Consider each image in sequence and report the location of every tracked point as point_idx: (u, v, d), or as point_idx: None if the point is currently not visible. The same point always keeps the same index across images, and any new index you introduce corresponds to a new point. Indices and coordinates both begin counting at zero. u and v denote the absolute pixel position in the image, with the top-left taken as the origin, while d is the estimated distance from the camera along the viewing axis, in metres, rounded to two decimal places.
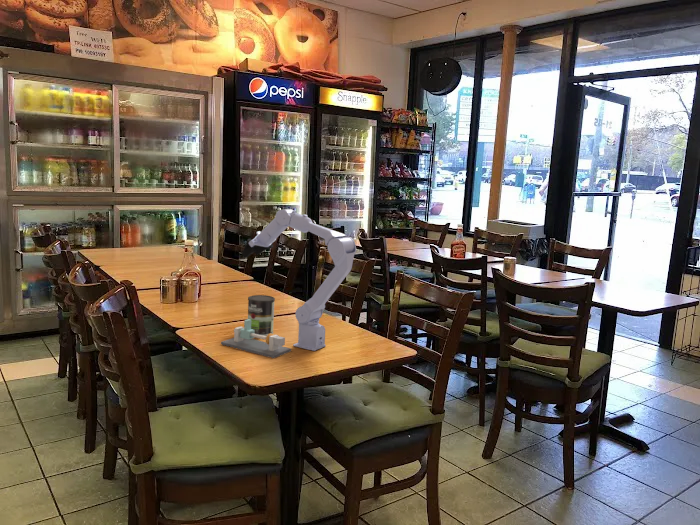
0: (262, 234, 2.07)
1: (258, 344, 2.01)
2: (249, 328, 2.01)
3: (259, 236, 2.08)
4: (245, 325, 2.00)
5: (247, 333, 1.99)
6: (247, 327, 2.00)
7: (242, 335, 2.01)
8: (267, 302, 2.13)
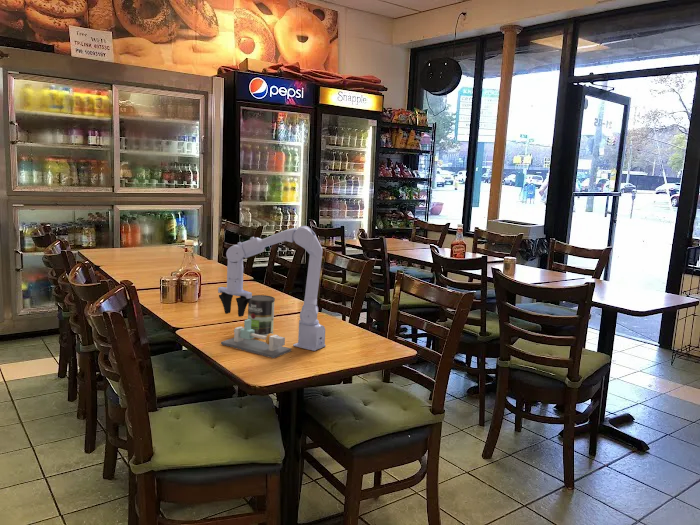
0: (238, 285, 2.00)
1: (258, 344, 2.01)
2: (249, 328, 2.01)
3: (237, 289, 2.00)
4: (245, 325, 2.00)
5: (247, 333, 1.99)
6: (247, 327, 2.00)
7: (242, 335, 2.01)
8: (267, 302, 2.13)
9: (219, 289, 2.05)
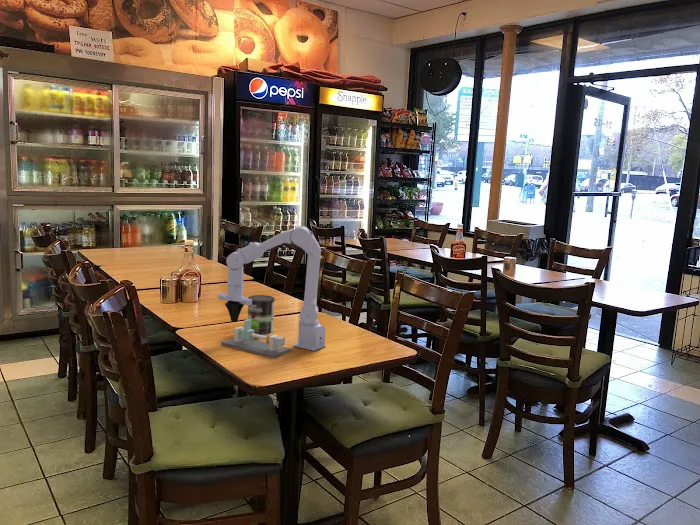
0: (238, 291, 2.00)
1: (258, 344, 2.01)
2: (249, 328, 2.01)
3: (237, 296, 2.00)
4: (245, 325, 2.00)
5: (247, 333, 1.99)
6: (247, 327, 2.00)
7: (242, 335, 2.01)
8: (267, 302, 2.13)
9: (219, 296, 2.05)
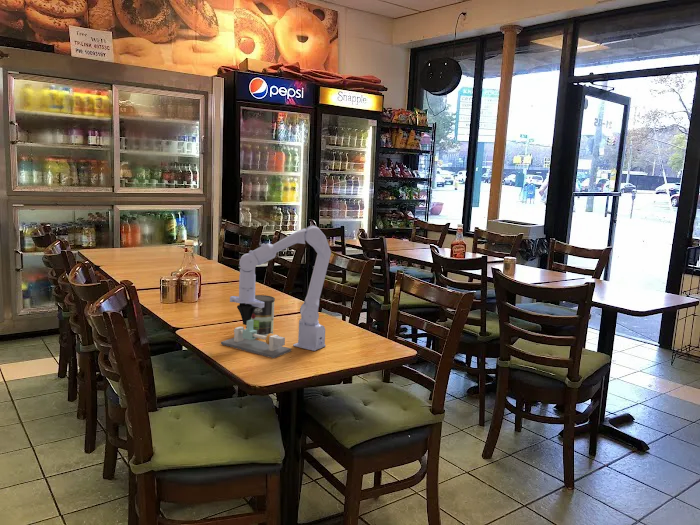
0: (251, 294, 1.97)
1: (258, 344, 2.01)
2: (251, 329, 2.00)
3: (249, 299, 1.97)
4: (247, 326, 1.99)
5: (249, 334, 1.99)
6: (249, 327, 1.99)
7: (244, 336, 2.00)
8: (267, 302, 2.13)
9: (231, 298, 2.02)
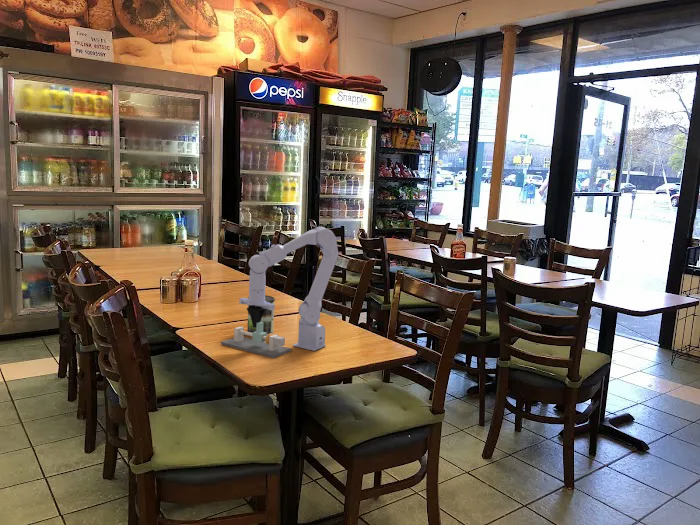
0: (261, 296, 1.95)
1: (258, 344, 2.01)
2: (261, 331, 1.98)
3: (259, 301, 1.95)
4: (257, 328, 1.97)
5: (259, 336, 1.97)
6: (259, 329, 1.97)
7: (254, 338, 1.98)
8: None
9: (240, 300, 2.00)
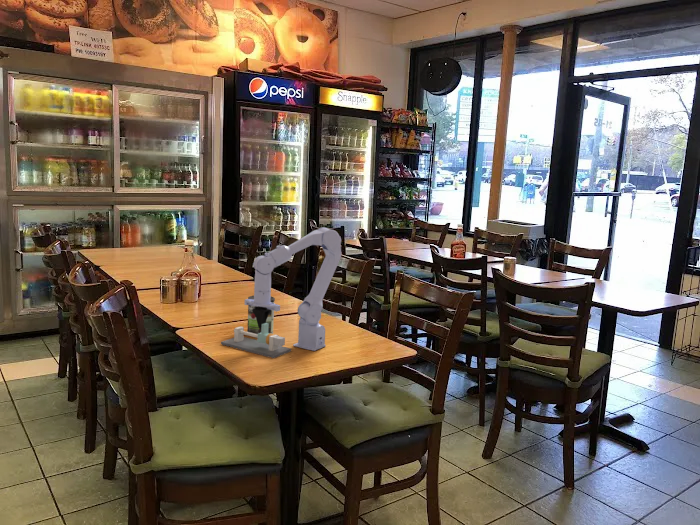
0: (266, 297, 1.94)
1: (258, 344, 2.01)
2: (266, 332, 1.97)
3: (265, 302, 1.94)
4: (262, 329, 1.96)
5: (264, 337, 1.95)
6: (265, 331, 1.96)
7: (259, 339, 1.97)
8: None
9: (246, 301, 1.99)
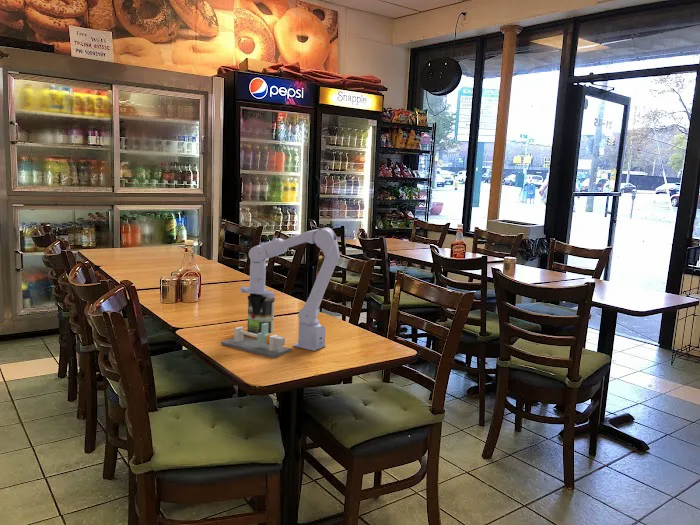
0: (261, 284, 2.02)
1: (258, 344, 2.01)
2: (266, 332, 1.97)
3: (260, 289, 2.02)
4: (262, 329, 1.96)
5: (264, 337, 1.95)
6: (264, 331, 1.96)
7: (259, 339, 1.97)
8: (267, 302, 2.13)
9: (241, 289, 2.07)
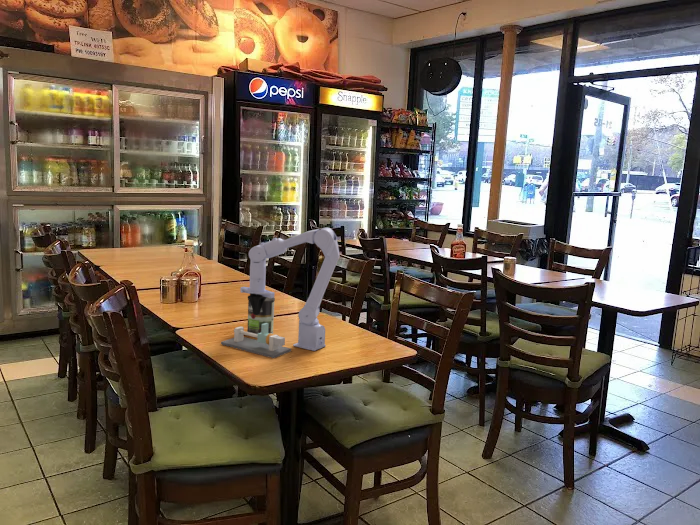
0: (261, 284, 2.02)
1: (258, 344, 2.01)
2: (266, 332, 1.97)
3: (260, 289, 2.02)
4: (262, 329, 1.96)
5: (264, 337, 1.95)
6: (264, 331, 1.96)
7: (259, 339, 1.97)
8: (267, 302, 2.13)
9: (241, 289, 2.07)
